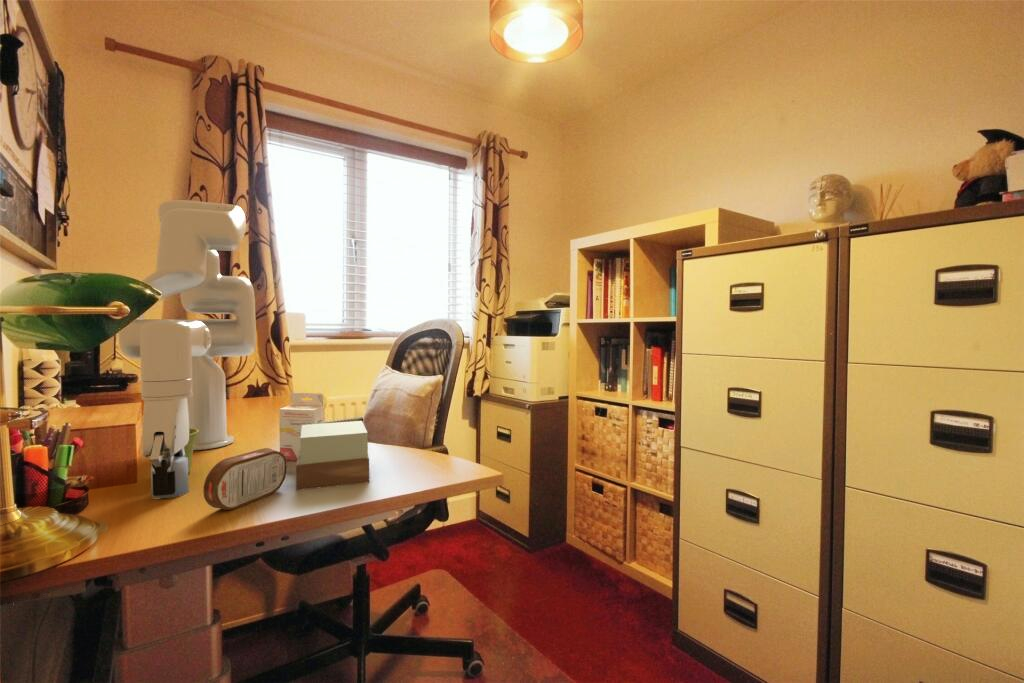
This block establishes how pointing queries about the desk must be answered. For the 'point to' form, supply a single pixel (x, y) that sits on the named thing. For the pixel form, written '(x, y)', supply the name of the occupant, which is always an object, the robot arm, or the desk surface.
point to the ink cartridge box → (298, 421)
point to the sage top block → (333, 442)
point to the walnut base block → (331, 473)
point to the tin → (245, 478)
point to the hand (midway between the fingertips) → (170, 487)
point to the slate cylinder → (176, 477)
